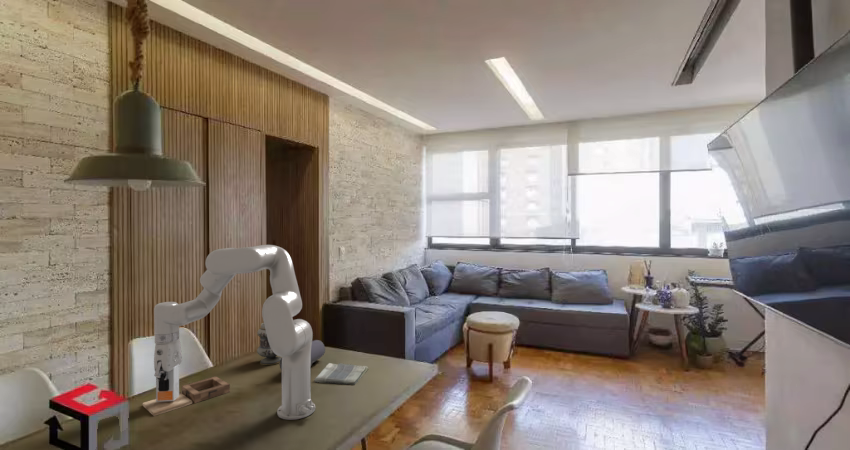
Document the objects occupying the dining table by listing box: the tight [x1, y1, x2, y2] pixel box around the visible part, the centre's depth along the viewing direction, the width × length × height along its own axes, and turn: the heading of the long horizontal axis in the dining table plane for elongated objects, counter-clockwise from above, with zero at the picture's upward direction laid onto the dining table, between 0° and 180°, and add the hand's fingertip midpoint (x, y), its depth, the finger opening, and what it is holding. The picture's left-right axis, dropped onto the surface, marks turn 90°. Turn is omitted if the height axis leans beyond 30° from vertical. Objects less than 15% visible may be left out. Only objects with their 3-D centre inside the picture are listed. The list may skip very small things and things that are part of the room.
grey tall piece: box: [256, 322, 282, 366], centre depth 190 cm, size 12×12×18 cm
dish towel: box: [314, 362, 369, 386], centre depth 173 cm, size 19×18×3 cm
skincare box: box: [155, 364, 180, 402], centre depth 145 cm, size 6×4×12 cm
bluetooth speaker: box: [279, 339, 326, 371], centre depth 181 cm, size 23×9×10 cm, turn 162°
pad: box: [142, 391, 193, 417], centre depth 146 cm, size 12×12×1 cm
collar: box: [181, 376, 231, 404], centre depth 155 cm, size 13×13×3 cm
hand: (167, 387), depth 145 cm, fingers closed on skincare box, 4 cm apart
